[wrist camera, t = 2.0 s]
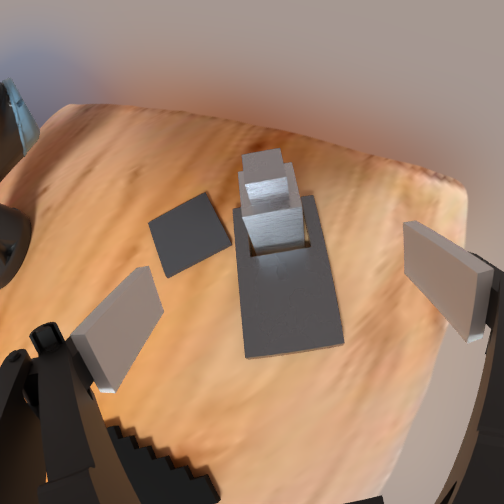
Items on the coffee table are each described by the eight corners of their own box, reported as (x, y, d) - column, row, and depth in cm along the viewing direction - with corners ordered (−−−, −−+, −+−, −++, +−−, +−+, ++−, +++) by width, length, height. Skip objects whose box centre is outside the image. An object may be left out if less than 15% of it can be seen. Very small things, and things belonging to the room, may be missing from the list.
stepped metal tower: (304, 249, 32) (300, 184, 22) (257, 257, 33) (233, 195, 23) (296, 209, 34) (288, 138, 24) (252, 217, 35) (230, 149, 25)
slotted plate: (342, 345, 27) (344, 343, 26) (248, 359, 28) (245, 357, 27) (313, 202, 34) (313, 194, 33) (235, 215, 35) (232, 208, 34)
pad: (150, 225, 37) (148, 222, 36) (206, 195, 37) (205, 192, 37) (168, 278, 33) (165, 276, 33) (232, 245, 34) (230, 242, 33)
